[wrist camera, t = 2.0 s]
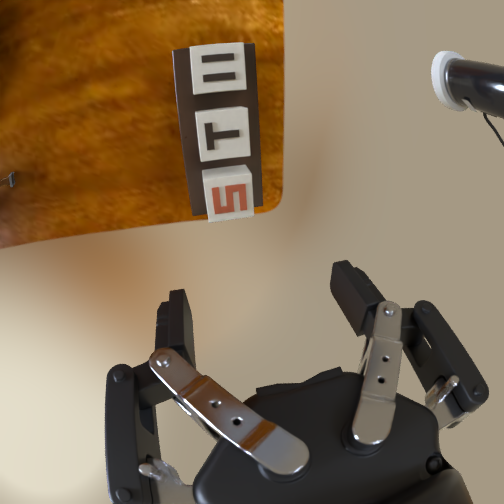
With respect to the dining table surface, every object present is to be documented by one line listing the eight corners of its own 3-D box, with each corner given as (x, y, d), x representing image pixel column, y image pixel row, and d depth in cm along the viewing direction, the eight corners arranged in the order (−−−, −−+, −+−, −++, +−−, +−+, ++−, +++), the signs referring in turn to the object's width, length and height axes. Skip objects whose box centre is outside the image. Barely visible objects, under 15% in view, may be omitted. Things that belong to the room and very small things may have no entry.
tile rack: (240, 54, 25) (254, 42, 18) (248, 181, 33) (263, 206, 27) (177, 61, 24) (172, 50, 17) (192, 188, 33) (192, 216, 26)
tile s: (245, 164, 24) (252, 173, 22) (247, 203, 26) (254, 217, 24) (201, 170, 24) (203, 180, 21) (207, 209, 26) (209, 223, 23)
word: (237, 48, 18) (243, 42, 16) (244, 148, 23) (251, 156, 21) (190, 52, 18) (189, 46, 15) (199, 154, 23) (200, 162, 20)
